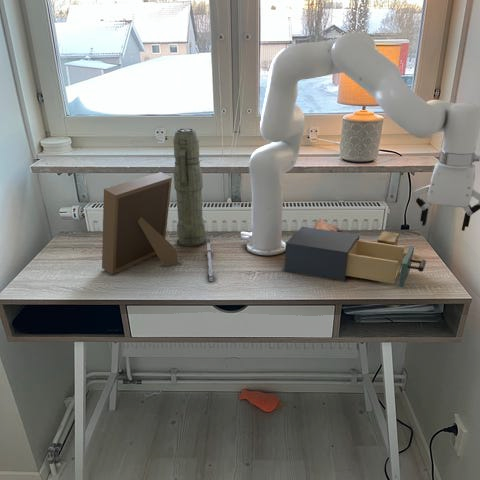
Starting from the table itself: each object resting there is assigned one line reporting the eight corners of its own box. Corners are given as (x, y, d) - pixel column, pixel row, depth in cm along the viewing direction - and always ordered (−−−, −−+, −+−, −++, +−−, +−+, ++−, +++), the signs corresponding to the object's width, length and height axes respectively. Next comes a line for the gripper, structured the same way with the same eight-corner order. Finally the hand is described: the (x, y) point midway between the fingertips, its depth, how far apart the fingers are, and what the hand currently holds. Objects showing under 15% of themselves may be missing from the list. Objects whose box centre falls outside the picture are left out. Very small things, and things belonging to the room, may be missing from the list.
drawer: (425, 270, 148) (429, 248, 145) (418, 290, 137) (423, 266, 134) (353, 259, 155) (356, 237, 152) (342, 276, 145) (344, 254, 141)
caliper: (206, 253, 162) (206, 234, 159) (210, 253, 163) (209, 234, 159) (209, 281, 145) (208, 261, 142) (213, 281, 145) (212, 260, 142)
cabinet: (356, 261, 156) (359, 234, 152) (344, 281, 145) (347, 252, 140) (300, 252, 162) (302, 226, 158) (284, 270, 151) (285, 242, 147)
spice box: (375, 256, 159) (377, 239, 157) (380, 247, 166) (382, 231, 163) (391, 259, 158) (394, 242, 155) (396, 249, 164) (399, 233, 161)
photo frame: (102, 271, 152) (89, 185, 139) (154, 247, 167) (146, 169, 154) (138, 283, 144) (128, 194, 132) (189, 258, 159) (184, 176, 147)
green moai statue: (175, 247, 167) (167, 133, 149) (180, 234, 177) (173, 126, 160) (203, 248, 166) (198, 133, 149) (206, 234, 177) (202, 126, 159)
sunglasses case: (339, 247, 164) (329, 229, 162) (319, 257, 167) (309, 239, 165) (339, 228, 180) (331, 211, 177) (321, 237, 182) (312, 221, 180)
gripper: (495, 158, 125) (480, 226, 134) (421, 152, 132) (411, 218, 140) (495, 165, 120) (478, 236, 128) (417, 159, 126) (406, 226, 134)
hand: (443, 226), depth 134 cm, fingers open, 9 cm apart
